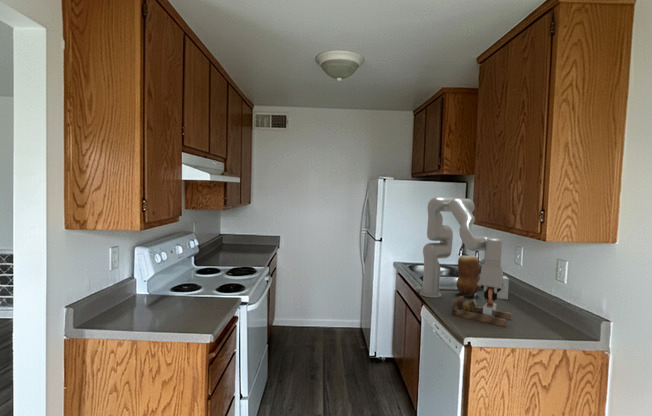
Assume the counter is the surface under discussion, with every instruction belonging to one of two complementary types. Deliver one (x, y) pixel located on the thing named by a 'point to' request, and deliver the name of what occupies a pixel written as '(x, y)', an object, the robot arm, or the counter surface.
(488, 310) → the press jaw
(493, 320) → the press frame
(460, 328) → the counter surface
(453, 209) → the robot arm
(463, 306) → the onion
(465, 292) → the butternut squash
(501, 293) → the supplement box
